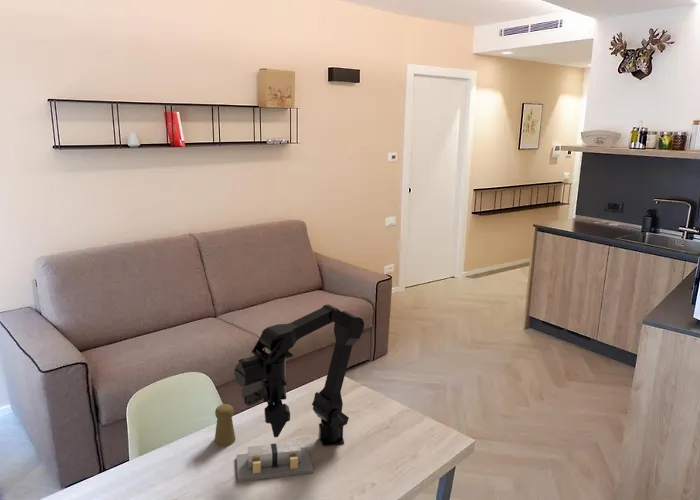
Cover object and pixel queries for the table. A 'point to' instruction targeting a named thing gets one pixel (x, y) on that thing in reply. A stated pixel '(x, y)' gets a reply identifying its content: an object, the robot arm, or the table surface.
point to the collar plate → (273, 467)
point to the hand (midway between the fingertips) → (274, 426)
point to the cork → (224, 425)
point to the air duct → (273, 454)
